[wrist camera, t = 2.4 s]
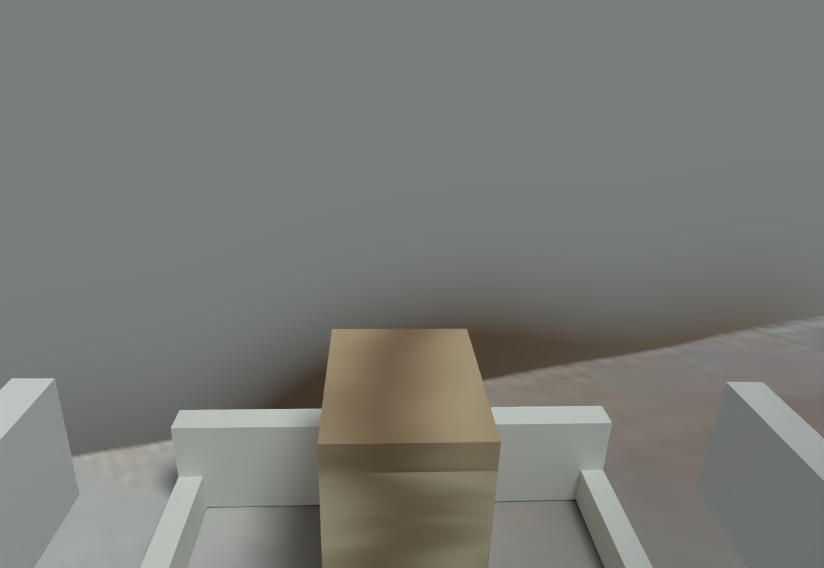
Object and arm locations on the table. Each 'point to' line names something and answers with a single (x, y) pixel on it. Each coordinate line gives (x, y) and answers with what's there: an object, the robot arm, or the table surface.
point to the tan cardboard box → (405, 451)
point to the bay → (299, 480)
